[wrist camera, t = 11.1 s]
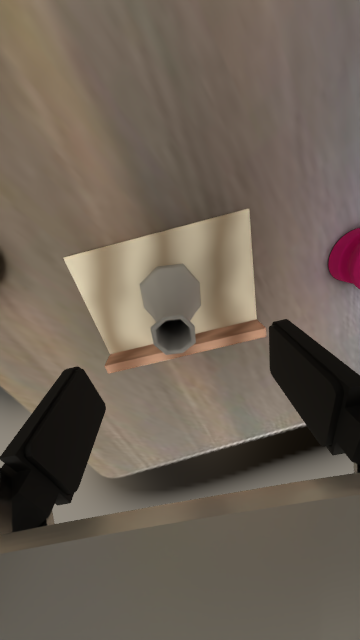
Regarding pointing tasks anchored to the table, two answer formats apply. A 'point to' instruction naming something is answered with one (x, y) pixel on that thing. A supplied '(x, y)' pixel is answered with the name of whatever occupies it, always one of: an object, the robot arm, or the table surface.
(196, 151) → the table surface
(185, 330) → the flask
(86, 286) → the shelf board
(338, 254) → the pepper mill
